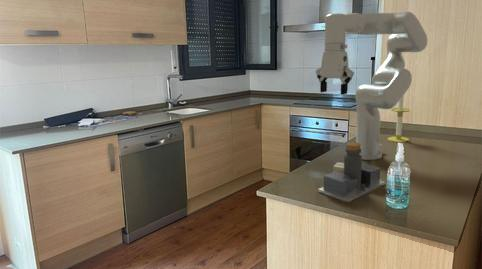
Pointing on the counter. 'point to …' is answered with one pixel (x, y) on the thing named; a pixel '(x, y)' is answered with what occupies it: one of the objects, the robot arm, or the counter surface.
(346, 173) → the bottle
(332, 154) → the counter surface
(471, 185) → the counter surface
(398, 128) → the candle
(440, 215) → the counter surface
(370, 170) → the board
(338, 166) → the loose block
